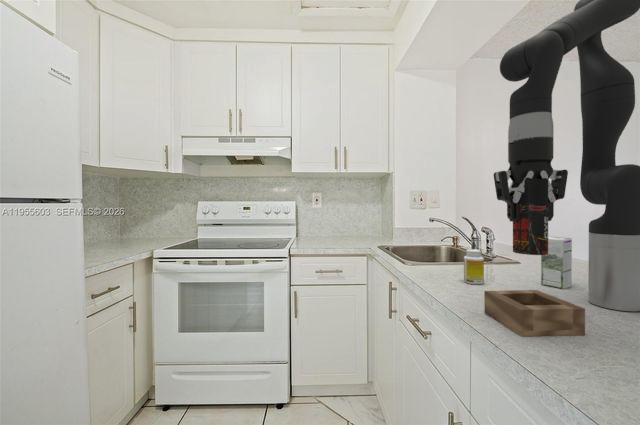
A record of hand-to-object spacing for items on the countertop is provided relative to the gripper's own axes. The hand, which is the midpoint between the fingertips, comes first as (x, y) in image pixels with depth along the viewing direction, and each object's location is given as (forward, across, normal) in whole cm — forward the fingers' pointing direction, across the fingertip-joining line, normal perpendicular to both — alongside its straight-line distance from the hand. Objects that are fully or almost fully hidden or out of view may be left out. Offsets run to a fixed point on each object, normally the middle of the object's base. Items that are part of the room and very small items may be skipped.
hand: (529, 220), depth 60 cm
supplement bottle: (+21, -5, -31) cm, 38 cm away
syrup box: (+21, -27, -26) cm, 43 cm away
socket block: (+21, 0, 0) cm, 21 cm away
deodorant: (+7, 0, 0) cm, 7 cm away
